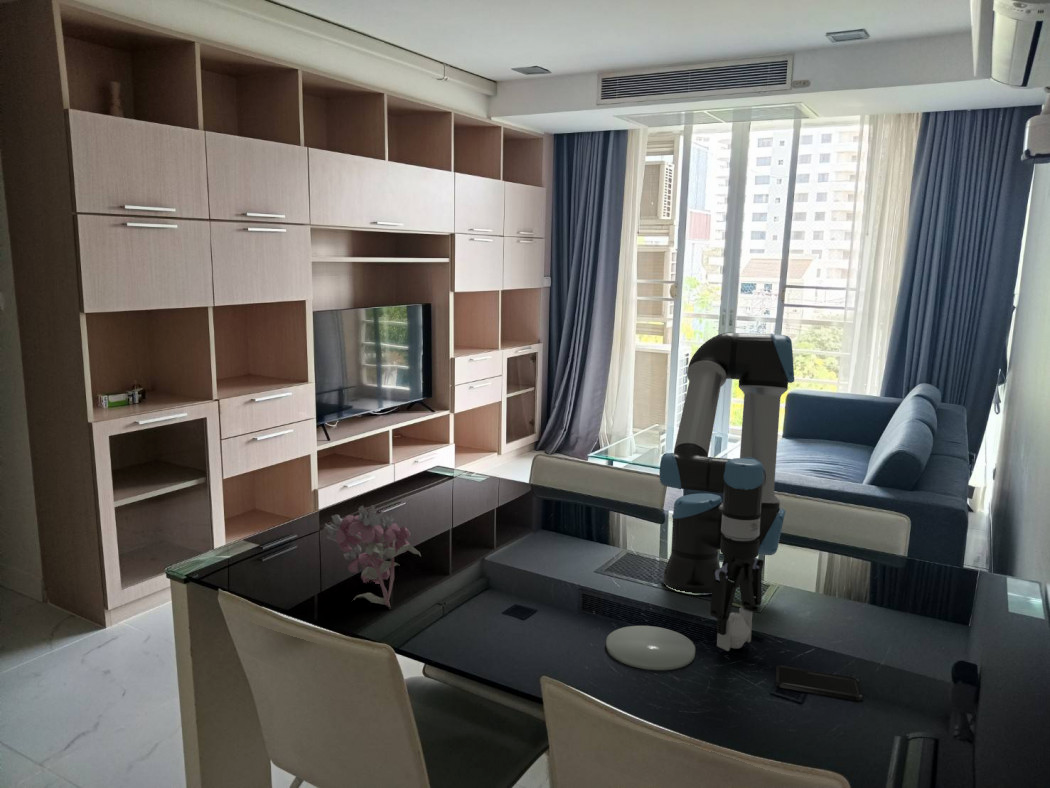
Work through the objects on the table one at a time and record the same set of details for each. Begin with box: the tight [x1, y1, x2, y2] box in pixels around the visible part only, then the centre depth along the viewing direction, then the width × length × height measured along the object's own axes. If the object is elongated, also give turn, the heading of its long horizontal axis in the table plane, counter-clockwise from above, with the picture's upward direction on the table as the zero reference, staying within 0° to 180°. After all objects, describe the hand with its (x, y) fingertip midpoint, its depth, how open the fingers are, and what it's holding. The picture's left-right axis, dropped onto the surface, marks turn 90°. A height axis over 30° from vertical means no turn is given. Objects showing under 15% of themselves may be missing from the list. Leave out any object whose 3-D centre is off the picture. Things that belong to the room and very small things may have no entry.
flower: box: [323, 504, 422, 609], centre depth 181 cm, size 20×22×25 cm
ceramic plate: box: [605, 625, 696, 671], centre depth 156 cm, size 18×18×1 cm
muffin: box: [729, 612, 750, 649], centre depth 157 cm, size 6×6×7 cm
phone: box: [775, 665, 863, 702], centre depth 144 cm, size 8×1×15 cm
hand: (733, 643), depth 157 cm, fingers closed on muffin, 6 cm apart
